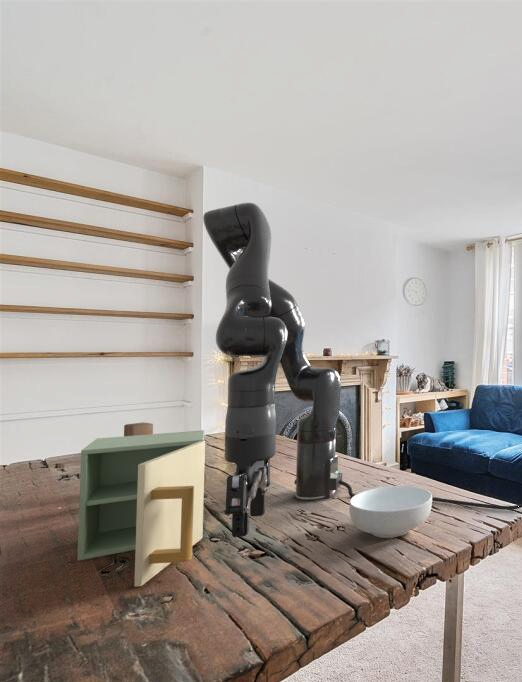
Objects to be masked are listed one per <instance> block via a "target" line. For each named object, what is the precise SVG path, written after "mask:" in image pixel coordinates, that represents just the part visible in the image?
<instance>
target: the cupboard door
mask: <svg viewBox="0 0 522 682" xmlns="http://www.w3.org/2000/svg"><path fill="white" fill-rule="evenodd" d="M205 455H206V440H204V441H199V442H197V443H194V444H192V445H189V446H186V447H184V448H181V449H178V450H176V451H173V452H170V453H168V454H165V455H162V456H160V457H157V458H155V459H152V460H149V461H147V462H144V463H141V464H139V465H138V488H137V520H136V550H135V553H134V555H135V557H134V585H133V586H134V588H136V587H142V586H143V585H145V584H146V583H148V582H149V581H150V580H151V579H153V578H154V577H155V576H156V575H158V574H159V573H160V572H161V571H163V570H164V569H165V568H167V567H168V566H169V565H171V564H172V563H186V562H189V561H191V560H192V558H193V546H194V545H196V544H197V543H198V542H199V541H201V540H202V539H203V538H204V537H203V534H204V533H203V531H204V527H203V526H204V501H205V500H204V499H205V497H204V495H205V488H204V471H205V468H206V467H205V464H206V463H205V462H206V461H205V460H206V456H205Z"/></svg>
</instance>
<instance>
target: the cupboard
mask: <svg viewBox="0 0 522 682" xmlns="http://www.w3.org/2000/svg"><path fill="white" fill-rule="evenodd" d="M199 441H205V429H202V430H187V431H176V432H164V433H153V434H149V435H136V436H124V435H123V436H113V437H112V436H111V437H110V436H109V437H101V438H100V437H99V438H98V437H97V438H96V439H94V440H93V441H91V442H90V443H89V444H87V446H85V447H84V448H82V449H81V450H80V472H79V474H80V475H79V503H78V504H79V505H78V527H77V528H78V532H77V556H76V557H77V561H82V560H89V559H93V558H94V559H95V558H99V557H103V556H110V555H115V554H119V553H125V552H130V551H136V520H137V488H138V465H139V464H141V463H144V462H147V461H149V460H152V459H155V458H157V457H160V456H162V455H165V454H168V453H170V452H173V451H176V450H178V449H181V448H184V447H186V446H189V445H192V444H194V443H197V442H199Z"/></svg>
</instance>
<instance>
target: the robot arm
mask: <svg viewBox="0 0 522 682" xmlns="http://www.w3.org/2000/svg"><path fill="white" fill-rule="evenodd" d="M202 221H203V224H204V228H205V230H206V233H207V235H208V237H209V239H210V240H211V242H212V244H213V245H214V246H215V249H216V251H217V252H218V254H219V255H220V257H221V258H222V259H223V261H224V263H225V264H226V266H227V267H228V269H229V270H228V273H227V275H226V279H225V298H226V299H225V300H226V305H225V310H224V312H223V315H222V317H221V319H220V321H219V323H218V326H217V329H216V332H215V344H216V346H217V348H218V350H219V351H220V352H221V353H222V354H223V355H226V356H229V357H262V361H261V362H260V363H259V364H258V365H257V366H255V367H252V368H247V369H243V370H237V371H234V372H232V373H231V374H230V375H228V380H227V406H226V408H227V409H226V415H225V421H224V460H225V461H226V462H227V463H230V464H235V466H236V468H235V471H234V473H233V474H231V475H228V476H227V478H226V490H225V491H226V494H225V511H224V512H225V515H232V516H231V536H232V537H233V538H240V537H245V536H247V535H248V534H249V531H250V517H251V518H252V517H254V518H255V517H262V516H263V515H264V514H265V512H266V494H267V493H268V488H269V487H270V486H271V459H272V458H273V457H274V456H275V455H276V449H277V448H276V447H277V445H276V444H277V442H276V441H277V412H276V404H275V403H276V381H277V373H278V369H279V366H281V369H282V372H283V374H284V377H285V380H286V383H287V384H288V387H289V389H290V392H291V394H292V395H293V396H294V397H295V399H297V400H298V401H300V402H302V403H303V402H304V403H312V408H311V412H310V413H309V414H306V415H304V416H301V417H300V418H298V420H297V426H296V427H297V431H296V433H297V434H296V470H295V472H296V473H295V480H294V485H295V494H294V495H295V496H294V497H295V498H296V500H299V501H316V500H323V499H330V498H331V497H332V496H334V495H335V493H336V492H338V489H339V488H340V487H341V486H343V487H345V488H347V490H348V495H349V497H351V498H352V497H354V496H355V495H356V494H355V493H353V488H352V486H351V485H350V484H349V483H348V482H345V481H344V480H343V472H338V470H339V469H338V468H339V461H338V460H339V455H338V454H336V443H337V441H336V439H337V422H338V419H339V415H340V407H341V395H342V394H341V392H342V382H341V377H340V374H339V373H338V371H337V370H335V369H334V368H331V367H314V366H312V365H311V363H310V362H309V360H308V358H307V356H306V353H305V352H304V347H303V342H304V337H305V329H306V324H305V318H304V316H303V313H302V312H301V310H300V307H299V306H298V303H297V301H296V299H295V298H294V296H293V294H292V293H290V292H289V291H288V290H287V289H285V288H284V287H282V286H281V285H279V284H278V283H276V282H275V281H273V280H272V279H270V278H269V266H270V260H271V249H272V230H271V227H270V224H269V221H268V219H267V216H266V215H265V213H264V211H263V210H262V209H261V208H260V207H259V205H258V204H256V203H254V202H242V203H238V204H234V205H229V206H225V207H219V208H216V209H211V210H208V211H206V212H205V213H203V216H202ZM238 502H239V503H238ZM432 502H437V503H446V504H452V505H453V504H454V505H462V506H467V507H476V508H485V509H494V510H504V511H512V510H518V509H522V508H521V507H522V503H520V504H515V505H499V504H488V503H480V502H471V501H463V500H457V499H456V500H455V499H450V498H449V499H448V498H442V497H433V496H432ZM238 504H239V505H238ZM518 506H519V507H518Z"/></svg>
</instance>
